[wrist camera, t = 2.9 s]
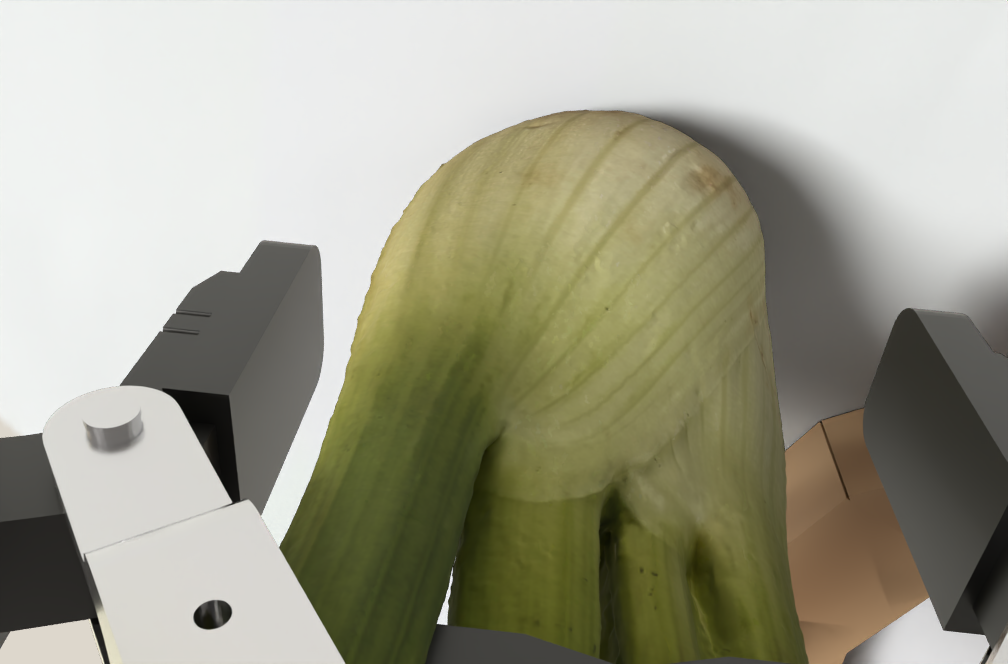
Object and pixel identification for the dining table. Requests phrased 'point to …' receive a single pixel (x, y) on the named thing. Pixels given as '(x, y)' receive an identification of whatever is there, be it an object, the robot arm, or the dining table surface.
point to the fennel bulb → (560, 412)
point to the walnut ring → (844, 542)
